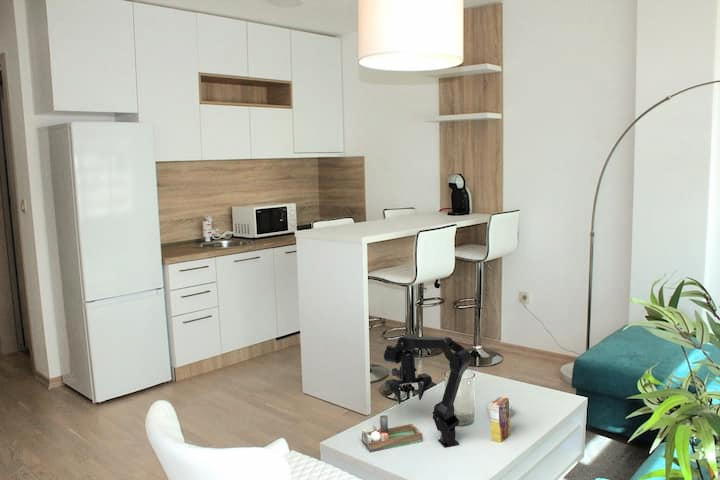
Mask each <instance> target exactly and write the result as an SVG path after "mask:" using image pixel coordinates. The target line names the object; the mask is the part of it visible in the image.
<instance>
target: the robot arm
mask: <svg viewBox="0 0 720 480" xmlns="http://www.w3.org/2000/svg"><path fill="white" fill-rule="evenodd" d="M416 349H440V350H441V351H442V352H443V354H444V357H445V358H446V360H447V361H448V362H449V365H448V366H449V370H450V372H449V377H448V380H447V382H446V386H445V389H444V392H443V396H442V399H441V401H439V402H437V403H436V404H434V407H433V408H434V409H433V411H432V412H431V414H432V419H433V421H434V422H433V423H434V425H435V427H436V430H437V431H438V432H440V438H438V439H437V442H438V443H439V444H440V445H441V446H442V447H444V448H448V447H454V446H457V445H459V446H460V442H459V441H458V440H457V439H456V437H457V436H456V434H457V433H456V427H458V426H459V425H460V422H461V421H460V419H459V418H458V417H457V416H456V414H455V411H456V410H455V405H454V403H455V400H456V397H457V394H458V390H459V388H460V384H461V381H462V378H463V375H464V373H465V372H466V370H467V369H468V367H469V366H470V364H471V362H472V361H473V357H472V355H471V352H470V351H468V350H467V349H466V348H465V347H463V345H461V344H459V343H458V342H456V341H454V340H453V339H452V338H451V337H450V336H445V337H439V336H437V337H431V336H426V337H425V336H419V335H418V334H414V333H407V334H405V335H403V336H400V337H398V339H397V344H396V345H395V346H394V345H391V344H389V345H386V349H385V351H384V354H383V359H384V361H385V362H389V363H392V364H393V363H394V364H400V366H399V369H398V368H397V367H396V368H395V367H394V368H391V375H392V377H396V379H399V380H396V379H395V378H392V379H391V378H390V379H388V380H386V381H385V383H384V385H385V388H386V389H388V390H389V391H390V392H393V394H394V396H395V399H396V401H397V403H398V405H401V397H402V396H401V394H402V393H401V389H400V387H401V386H405V385H411V384H417V388H418V389H417V392H418V393H417V395H418V396H417V397H418V401H422V398H423V396H424V393H425V391H426V390H427V388H428V387H429V386H430V384H432V383H433V378H432V376H430V375H429V374H427V373H425V372H424V373H419V374H417V377H416V372H417V368H416V361H415V360H416V359H415V357H418V356H419V355H420V353H419V352H418V351H417V350H416ZM453 352H455V353H453Z"/></svg>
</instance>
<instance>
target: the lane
mask: <svg viewBox="0 0 720 480" xmlns="http://www.w3.org/2000/svg"><path fill="white" fill-rule="evenodd" d="M372 426H373V427H372V428H373V430H372V431H367V430H366V428H363V429H362V431H361V442H362V444H363V445H364V446H365V448H366V449H367V450H368V451H369V453H374V452H380V451H383V450H389V449H393V448H398V447H403V446H404V447H405V446H409V445H414V444H419V443H422V442H423V433H422V432H421V431H420V429H419V428H417V427H416V426H415V425H414V423H408V424H403V425H399V426H393V427H388V432H387V434H388V439H385V440H384V434H381V440H380V441H375V442H372V441H371V436H370V435H371V433H372V432H375V431H376V432H378V429H377V425H376V424H373V425H372Z"/></svg>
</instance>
